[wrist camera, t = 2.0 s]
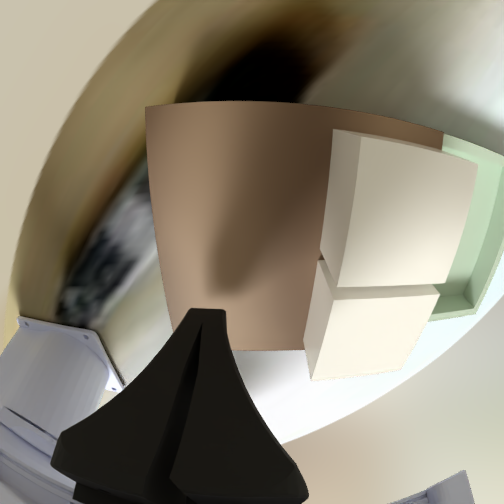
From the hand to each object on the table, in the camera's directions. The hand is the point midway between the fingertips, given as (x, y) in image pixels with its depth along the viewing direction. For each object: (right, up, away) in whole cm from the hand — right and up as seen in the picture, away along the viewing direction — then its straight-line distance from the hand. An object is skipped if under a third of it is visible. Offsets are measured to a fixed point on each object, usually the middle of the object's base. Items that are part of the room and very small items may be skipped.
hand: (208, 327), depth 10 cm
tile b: (+7, +5, -1) cm, 8 cm away
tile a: (+6, +1, +2) cm, 7 cm away
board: (+3, +5, +3) cm, 7 cm away
